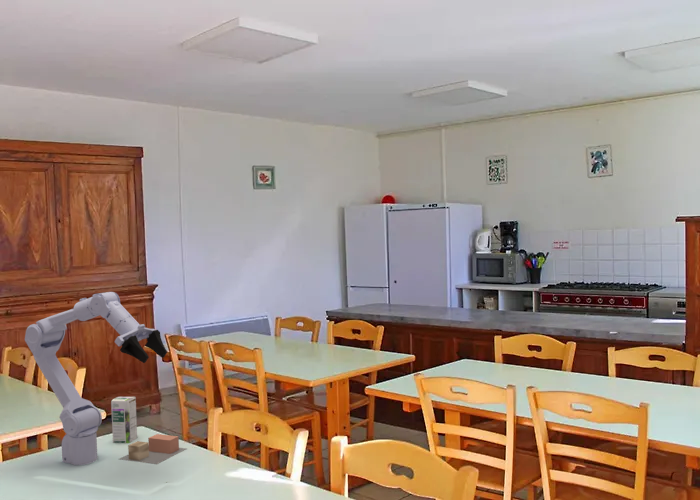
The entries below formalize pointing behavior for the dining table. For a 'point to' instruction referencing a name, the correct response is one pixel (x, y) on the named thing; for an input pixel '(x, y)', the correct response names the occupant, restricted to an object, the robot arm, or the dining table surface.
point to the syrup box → (124, 419)
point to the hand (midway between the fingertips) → (155, 357)
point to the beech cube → (138, 450)
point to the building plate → (154, 457)
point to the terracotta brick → (163, 443)
